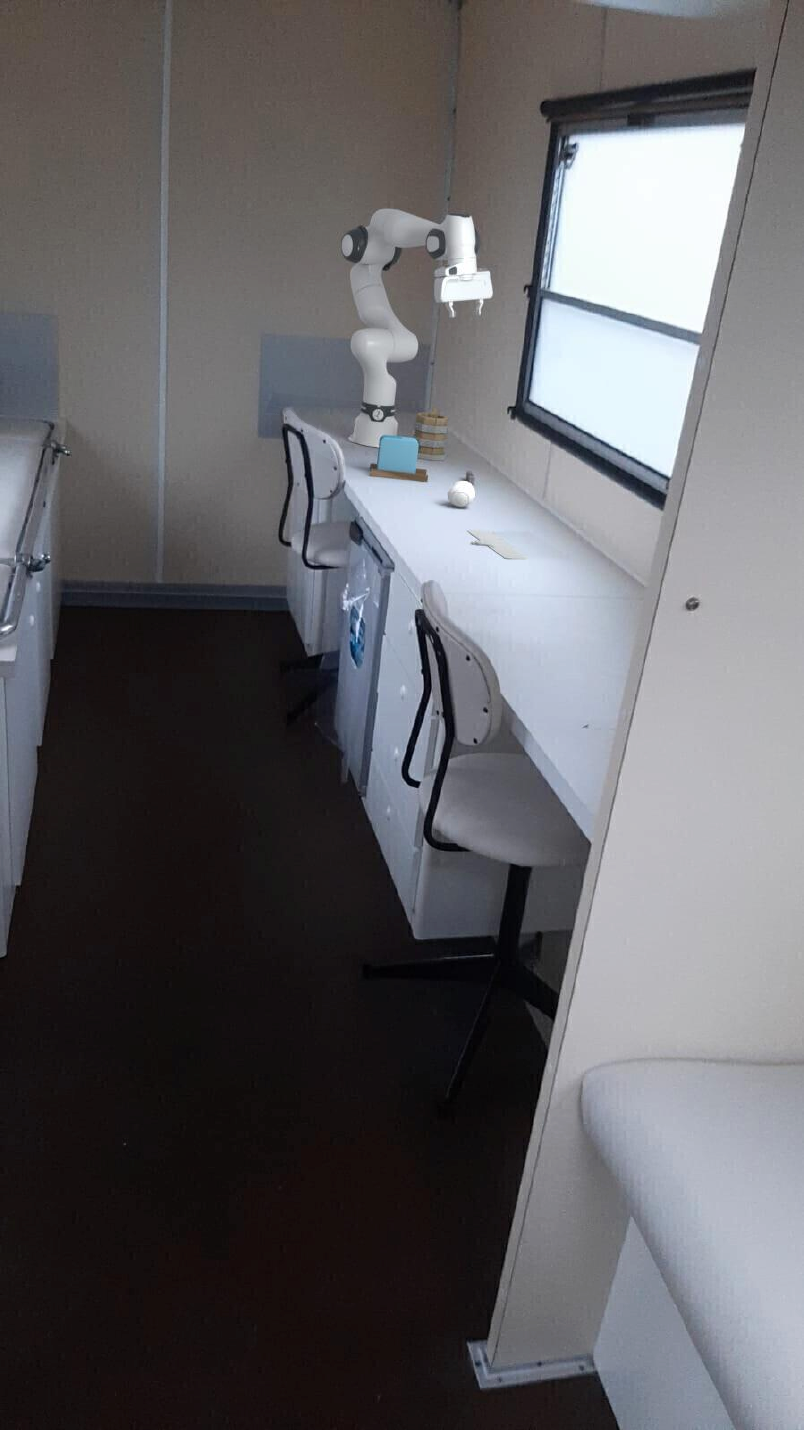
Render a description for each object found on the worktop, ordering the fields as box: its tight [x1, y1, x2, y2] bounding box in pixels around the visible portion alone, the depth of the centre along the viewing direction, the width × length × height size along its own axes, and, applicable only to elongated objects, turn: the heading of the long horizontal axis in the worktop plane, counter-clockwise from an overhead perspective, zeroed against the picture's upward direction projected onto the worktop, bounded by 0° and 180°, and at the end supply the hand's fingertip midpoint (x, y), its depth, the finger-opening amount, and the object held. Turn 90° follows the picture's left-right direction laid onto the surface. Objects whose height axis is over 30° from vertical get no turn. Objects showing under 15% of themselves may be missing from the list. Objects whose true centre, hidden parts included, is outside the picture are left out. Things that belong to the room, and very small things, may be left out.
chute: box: [369, 462, 476, 487], centre depth 358 cm, size 10×33×3 cm, turn 92°
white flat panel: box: [466, 529, 528, 560], centre depth 300 cm, size 25×24×1 cm
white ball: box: [447, 480, 476, 508], centre depth 329 cm, size 8×8×8 cm
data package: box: [376, 435, 418, 473], centre depth 356 cm, size 12×4×12 cm, turn 94°
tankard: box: [411, 407, 449, 462], centre depth 392 cm, size 20×13×15 cm, turn 171°
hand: (465, 316), depth 354 cm, fingers open, 8 cm apart
